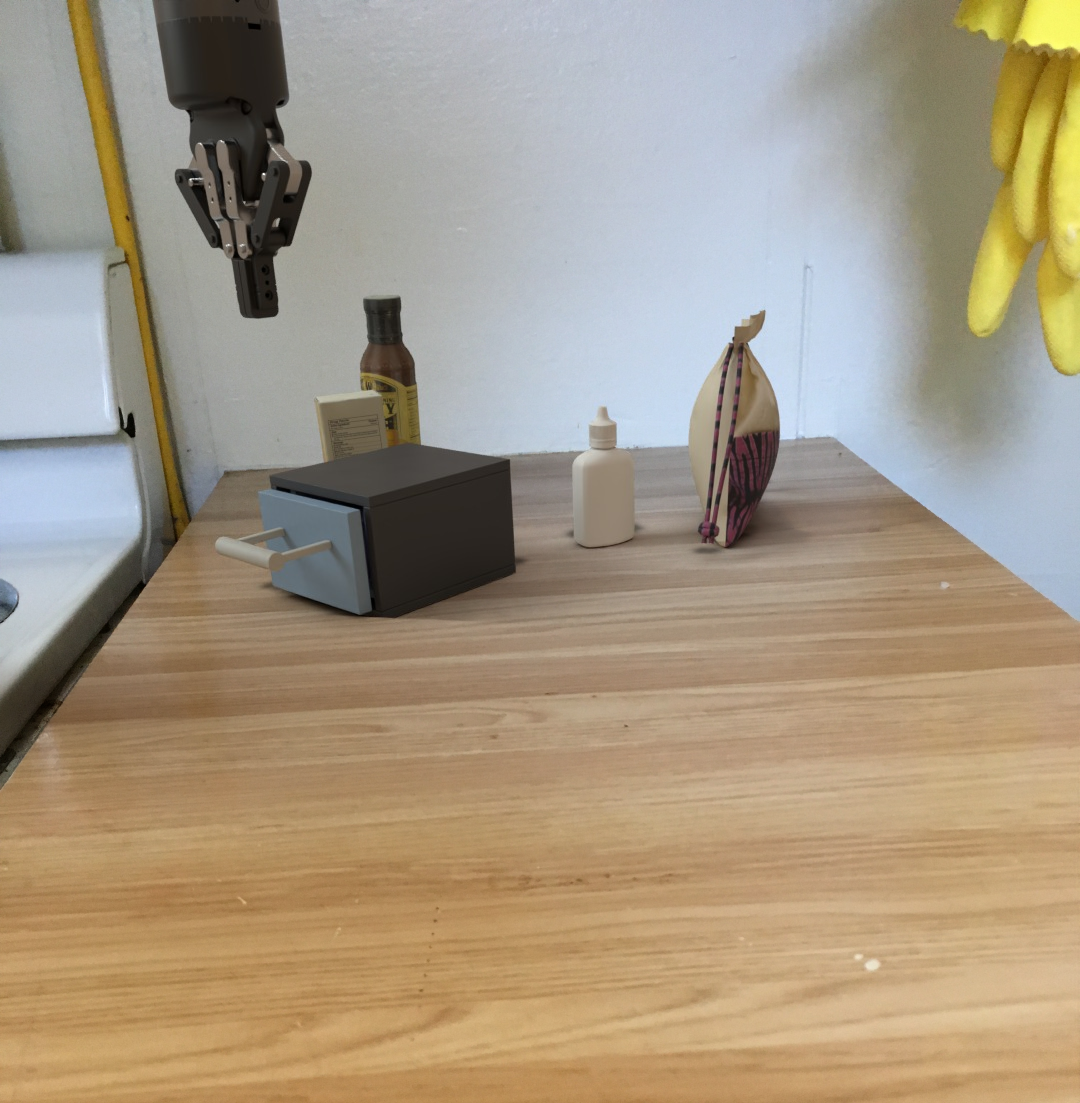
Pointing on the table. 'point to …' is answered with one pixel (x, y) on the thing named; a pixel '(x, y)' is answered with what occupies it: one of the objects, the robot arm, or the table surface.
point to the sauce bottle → (390, 369)
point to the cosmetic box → (350, 424)
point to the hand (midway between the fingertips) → (260, 317)
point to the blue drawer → (309, 549)
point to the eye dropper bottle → (603, 488)
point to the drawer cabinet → (421, 519)
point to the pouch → (733, 437)
